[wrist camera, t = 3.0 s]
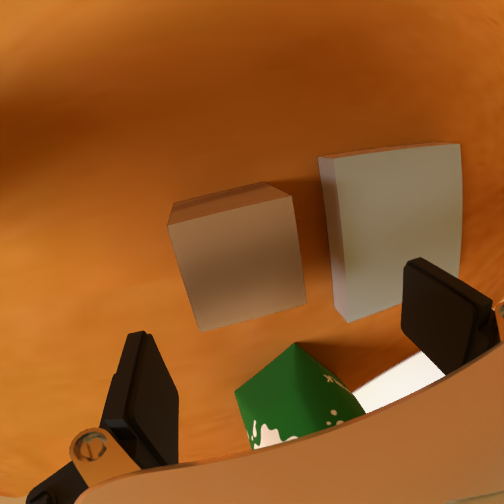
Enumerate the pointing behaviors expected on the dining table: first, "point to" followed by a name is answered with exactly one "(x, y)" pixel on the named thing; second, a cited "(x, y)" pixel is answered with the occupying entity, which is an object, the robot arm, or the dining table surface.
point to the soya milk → (293, 400)
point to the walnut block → (238, 254)
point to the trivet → (389, 219)
